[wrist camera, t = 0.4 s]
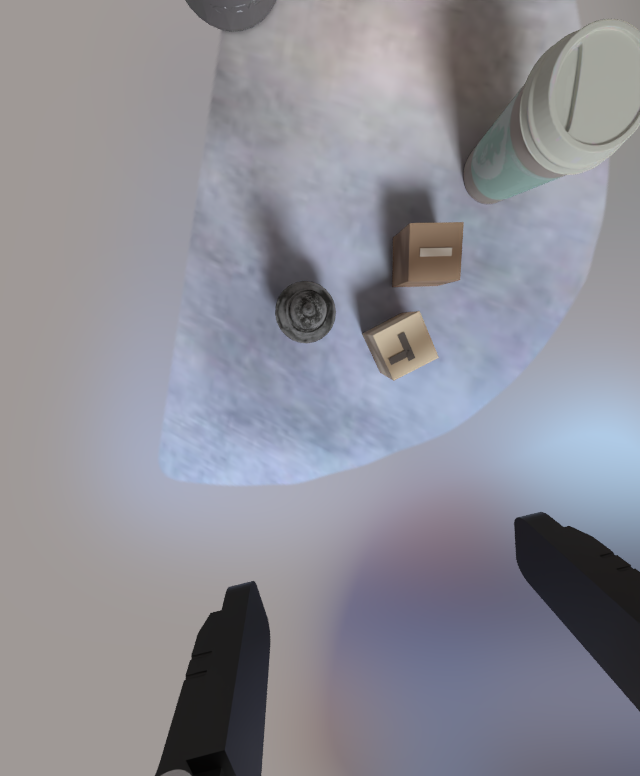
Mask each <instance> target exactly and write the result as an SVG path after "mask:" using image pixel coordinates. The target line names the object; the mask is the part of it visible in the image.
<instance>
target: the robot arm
mask: <svg viewBox="0 0 640 776" xmlns="http://www.w3.org/2000/svg"><path fill="white" fill-rule="evenodd" d="M275 1H276V0H186V2H187V3H188V5H189V6H190V8H191V9H192V10H193V11H194V12H195V13H196V14H197V15H198V16H199V17H200V18H201V19H202V20H204V21H205V22H207V23H208V24H209V25H212V26H214V27H216V28H218V29H221V30H227V31H242V30H245V29H249V28H252V27H253V26H255V25H256V24H258V23H259V22H261V21H262V20H263V19H264V18H265V17H266V16H267V15H268V14H269V12H270V10H271V9H272V7H273V5H274V4H275ZM514 526H515V545H516V560H517V563H518V566H519V569H520V571H521V572H522V574H523V576H524V578H525V579H526V581H527V582H528V583H529V584H530V585H531V586H532V588H533V589H534V590H535V591H536V592H537V593H538V595H539V596H540V597H541V598H542V599H543V600H544V602H545V603H546V604H547V605H548V606H549V607H550V608H551V610H552V611H553V612H554V613H555V614H556V615H557V616H558V618H559V619H560V620H561V621H562V622H563V623H564V624H565V626H566V627H567V628H568V629H569V630H570V631H571V633H572V634H573V635H574V636H575V637H576V638H577V640H578V641H579V642H580V643H581V644H582V645H583V646H584V648H585V649H586V650H587V651H588V652H589V653H590V655H591V656H592V657H593V658H594V659H595V660H596V661H597V663H598V664H599V665H600V666H601V667H602V668H603V669H604V671H605V672H606V673H607V674H608V675H609V676H610V678H611V679H612V680H613V681H614V682H615V683H616V684H617V686H618V687H619V688H620V689H621V690H622V691H623V692H624V694H625V695H626V696H627V697H628V698H629V699H630V701H631V702H632V703H633V704H634V705H635V706H636V708H637V709H638V710H639V711H640V572H639V571H638V570H636V569H633V568H632V567H631V565H630V564H628V563H627V562H626V561H624V560H623V559H622V558H620V557H619V556H618V555H614V553H613V552H612V551H611V550H610V549H608V548H607V547H606V546H604V545H603V544H602V543H600V542H599V541H598V540H596V539H595V538H594V537H592V536H590V535H588V534H585V533H583V532H581V531H579V530H577V529H575V528H573V527H570V526H567V527H563V526H561V525H560V524H559V523H558V522H556V521H555V520H554V519H553V518H551V517H550V516H549V515H547V514H546V513H543V512H539V513H534V514H530V515H526V516H522V517H518V518H516V519H515V522H514ZM269 654H270V629H269V623H268V618H267V615H266V612H265V609H264V607H263V603H262V600H261V597H260V594H259V591H258V588H257V585H256V583H255V582H254V581H251V582H247V583H243V584H240V585H235V586H231V587H229V588H228V589H227V591H226V594H225V598H224V602H223V607H222V610H221V611H217V612H213V613H210V615H209V617H208V618H207V620H206V621H205V623H204V625H203V626H202V628H201V629H200V631H199V633H198V635H197V639H196V642H195V645H194V649H193V652H192V659H191V660H190V662H189V666H188V669H187V673H186V680H185V681H184V683H183V686H182V689H181V693H180V696H179V699H178V703H177V706H176V710H175V713H174V716H173V720H172V723H171V727H170V730H169V733H168V737H167V740H166V744H165V747H164V750H163V754H162V757H161V760H160V764H159V767H158V770H157V772H156V775H155V776H261V771H262V756H263V742H264V727H265V712H266V698H267V684H268V670H269Z"/></svg>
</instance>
